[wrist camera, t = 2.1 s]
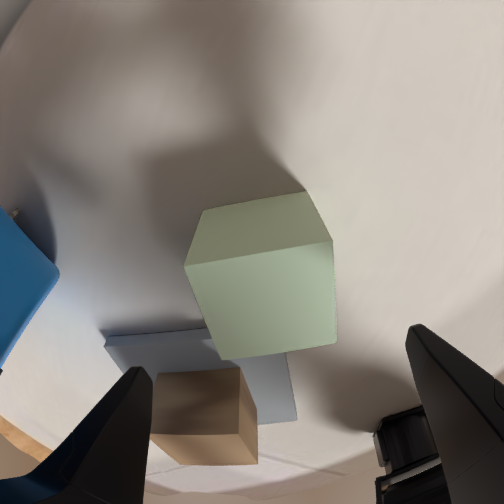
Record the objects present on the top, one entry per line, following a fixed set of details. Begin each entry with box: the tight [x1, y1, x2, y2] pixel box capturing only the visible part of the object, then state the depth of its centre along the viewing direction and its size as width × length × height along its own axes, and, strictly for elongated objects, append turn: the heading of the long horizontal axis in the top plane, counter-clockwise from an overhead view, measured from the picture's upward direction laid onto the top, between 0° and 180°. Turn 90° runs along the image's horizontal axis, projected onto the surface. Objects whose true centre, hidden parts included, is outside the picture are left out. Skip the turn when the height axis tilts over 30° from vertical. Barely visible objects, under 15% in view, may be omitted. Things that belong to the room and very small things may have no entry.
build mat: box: [104, 328, 297, 425], centre depth 21 cm, size 12×12×1 cm
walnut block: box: [150, 367, 258, 466], centre depth 18 cm, size 6×6×5 cm
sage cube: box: [183, 191, 337, 360], centre depth 13 cm, size 5×5×5 cm
